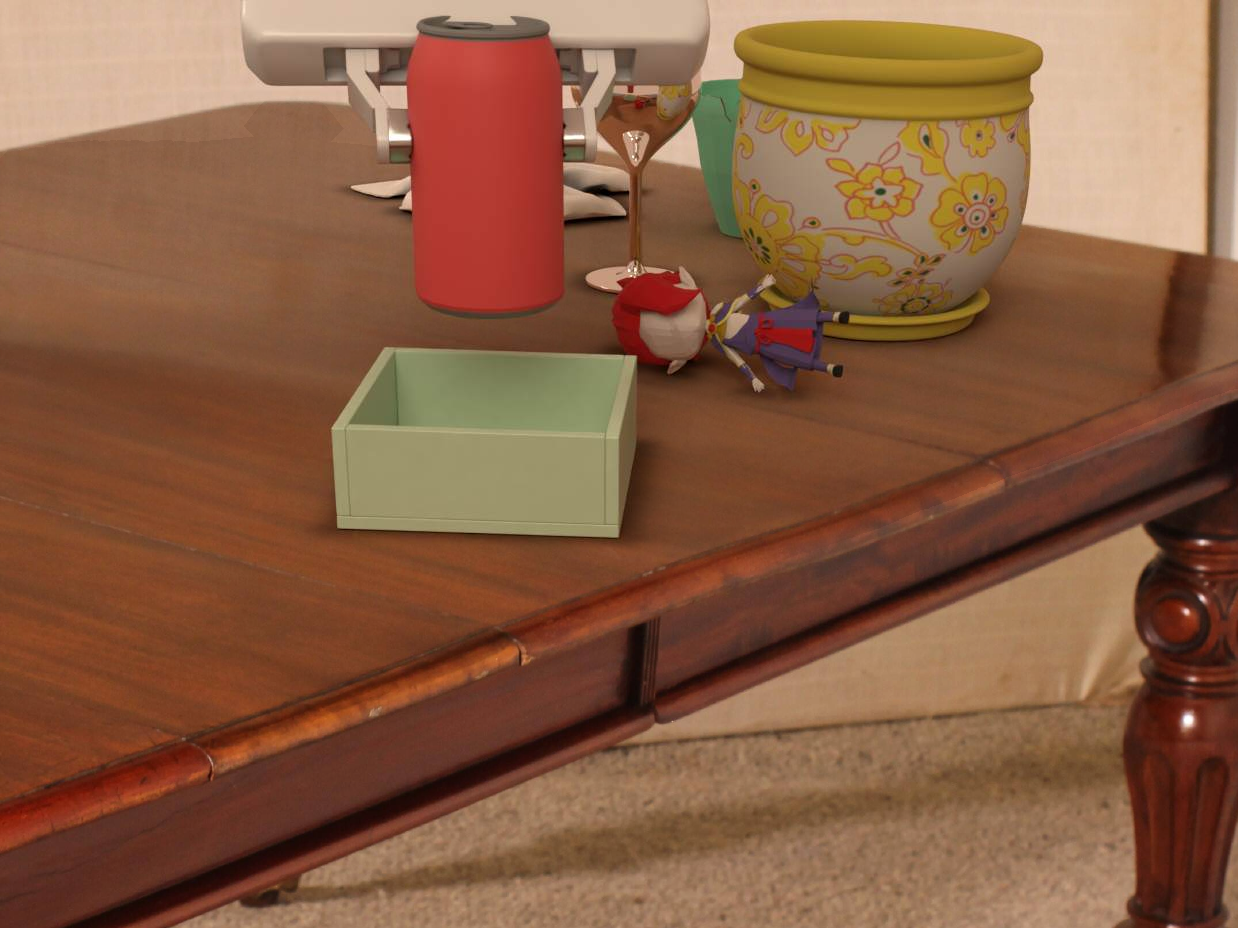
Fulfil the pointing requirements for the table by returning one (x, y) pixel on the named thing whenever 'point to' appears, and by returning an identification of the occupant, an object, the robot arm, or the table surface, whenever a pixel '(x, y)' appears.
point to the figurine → (719, 327)
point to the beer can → (486, 168)
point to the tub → (488, 443)
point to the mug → (718, 147)
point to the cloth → (578, 190)
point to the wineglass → (640, 153)
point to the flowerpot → (882, 168)
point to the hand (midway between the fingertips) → (489, 156)
